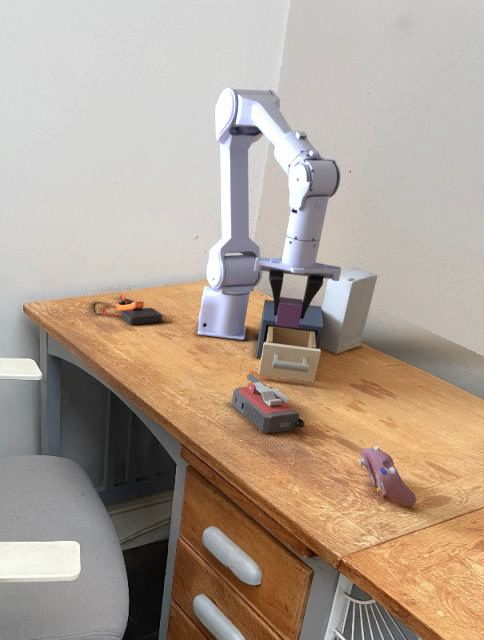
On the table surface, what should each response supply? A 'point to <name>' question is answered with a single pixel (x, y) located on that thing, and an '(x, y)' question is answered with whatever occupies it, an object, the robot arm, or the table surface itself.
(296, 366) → the drawer
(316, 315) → the cabinet
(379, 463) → the video game controller
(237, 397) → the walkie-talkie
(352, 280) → the cosmetic box
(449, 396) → the table surface
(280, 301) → the block
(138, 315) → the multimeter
